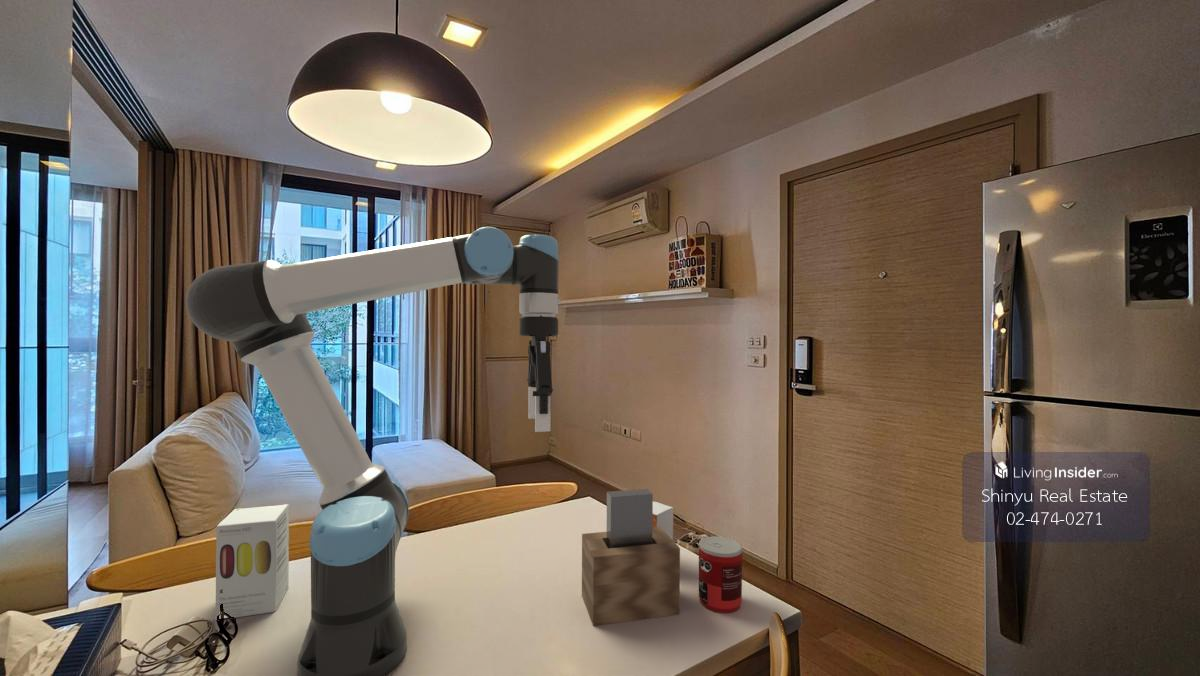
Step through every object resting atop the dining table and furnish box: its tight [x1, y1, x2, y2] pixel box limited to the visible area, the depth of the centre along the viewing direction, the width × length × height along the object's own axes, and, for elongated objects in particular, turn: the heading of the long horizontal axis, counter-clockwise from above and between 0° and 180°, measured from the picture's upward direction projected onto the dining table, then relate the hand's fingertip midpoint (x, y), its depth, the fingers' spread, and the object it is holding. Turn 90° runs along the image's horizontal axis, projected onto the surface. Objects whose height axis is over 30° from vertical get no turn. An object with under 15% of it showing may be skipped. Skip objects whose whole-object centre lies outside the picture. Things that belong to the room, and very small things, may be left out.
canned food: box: [698, 535, 743, 614], centre depth 93 cm, size 8×8×11 cm
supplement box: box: [214, 503, 290, 621], centre depth 92 cm, size 10×9×17 cm
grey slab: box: [606, 488, 654, 549], centre depth 92 cm, size 8×3×14 cm, turn 103°
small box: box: [652, 501, 674, 541], centre depth 108 cm, size 8×6×13 cm
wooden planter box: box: [581, 527, 681, 627], centre depth 92 cm, size 16×10×12 cm, turn 103°
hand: (538, 424), depth 97 cm, fingers open, 13 cm apart
